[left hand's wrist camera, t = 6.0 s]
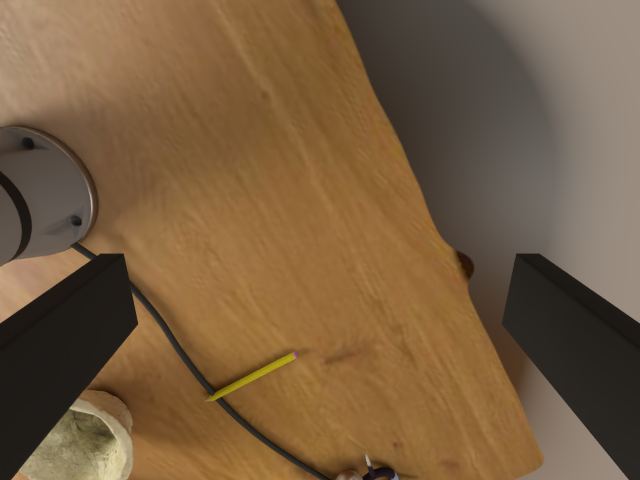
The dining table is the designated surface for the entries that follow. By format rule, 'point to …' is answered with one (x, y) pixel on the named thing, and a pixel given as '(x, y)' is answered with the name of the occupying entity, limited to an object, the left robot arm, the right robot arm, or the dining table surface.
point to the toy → (354, 479)
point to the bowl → (86, 442)
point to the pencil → (253, 376)
